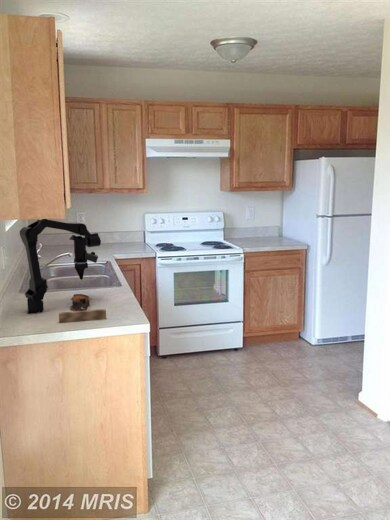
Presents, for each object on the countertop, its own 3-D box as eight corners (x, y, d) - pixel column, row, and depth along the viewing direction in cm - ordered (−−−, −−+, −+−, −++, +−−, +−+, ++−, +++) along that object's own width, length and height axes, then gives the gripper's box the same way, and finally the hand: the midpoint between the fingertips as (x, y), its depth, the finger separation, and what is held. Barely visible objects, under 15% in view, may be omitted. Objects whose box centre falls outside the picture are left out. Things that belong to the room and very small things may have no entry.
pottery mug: (64, 310, 224) (68, 294, 226) (80, 315, 230) (83, 299, 233) (80, 308, 216) (83, 291, 219) (96, 313, 223) (99, 296, 226)
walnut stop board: (59, 322, 204) (58, 313, 203) (59, 321, 206) (58, 312, 205) (106, 318, 209) (105, 310, 208) (105, 317, 211) (105, 308, 210)
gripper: (97, 250, 225) (99, 282, 228) (95, 245, 243) (96, 274, 246) (73, 251, 222) (75, 283, 225) (73, 245, 240) (74, 275, 243)
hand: (81, 279), depth 235 cm, fingers closed
